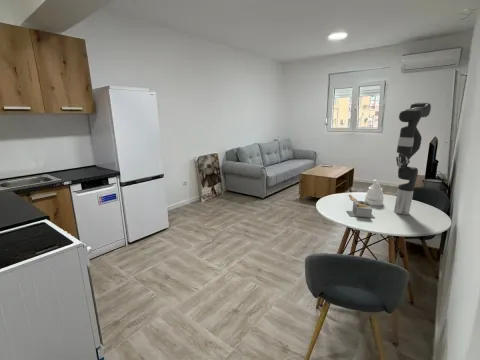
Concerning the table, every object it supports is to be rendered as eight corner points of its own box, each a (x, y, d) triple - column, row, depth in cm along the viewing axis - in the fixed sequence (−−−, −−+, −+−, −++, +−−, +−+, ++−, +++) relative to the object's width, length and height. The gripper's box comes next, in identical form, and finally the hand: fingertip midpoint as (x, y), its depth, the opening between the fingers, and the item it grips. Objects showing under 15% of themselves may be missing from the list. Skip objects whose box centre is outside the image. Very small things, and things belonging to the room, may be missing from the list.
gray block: (346, 211, 185) (346, 210, 185) (369, 212, 183) (369, 212, 183) (350, 216, 176) (350, 215, 175) (375, 218, 174) (375, 217, 173)
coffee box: (370, 218, 172) (366, 209, 188) (372, 208, 171) (367, 201, 186) (356, 216, 175) (352, 208, 190) (357, 207, 173) (353, 200, 188)
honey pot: (361, 201, 209) (364, 179, 204) (372, 199, 214) (375, 178, 210) (375, 206, 198) (378, 183, 193) (386, 204, 203) (390, 181, 199)
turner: (347, 195, 223) (347, 194, 223) (352, 195, 223) (352, 194, 223) (352, 201, 209) (352, 200, 209) (357, 201, 208) (357, 200, 208)
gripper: (393, 143, 158) (389, 171, 162) (403, 146, 145) (398, 176, 149) (407, 143, 157) (402, 171, 161) (417, 146, 144) (412, 177, 148)
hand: (400, 174), depth 155 cm, fingers closed
